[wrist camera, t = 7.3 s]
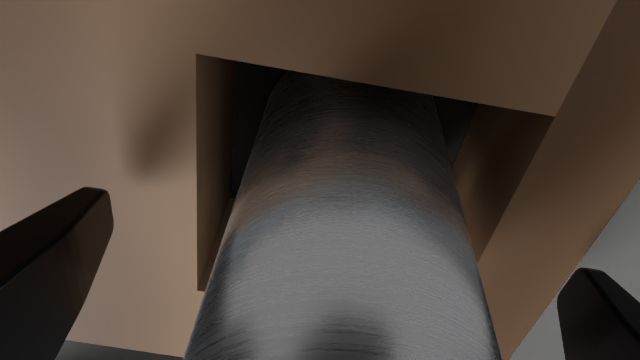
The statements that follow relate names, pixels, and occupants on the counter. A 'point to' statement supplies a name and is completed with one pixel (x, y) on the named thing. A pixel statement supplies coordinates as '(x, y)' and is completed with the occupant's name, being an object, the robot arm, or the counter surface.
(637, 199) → the counter surface
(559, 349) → the counter surface
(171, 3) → the jig
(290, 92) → the shiny silver cylinder
